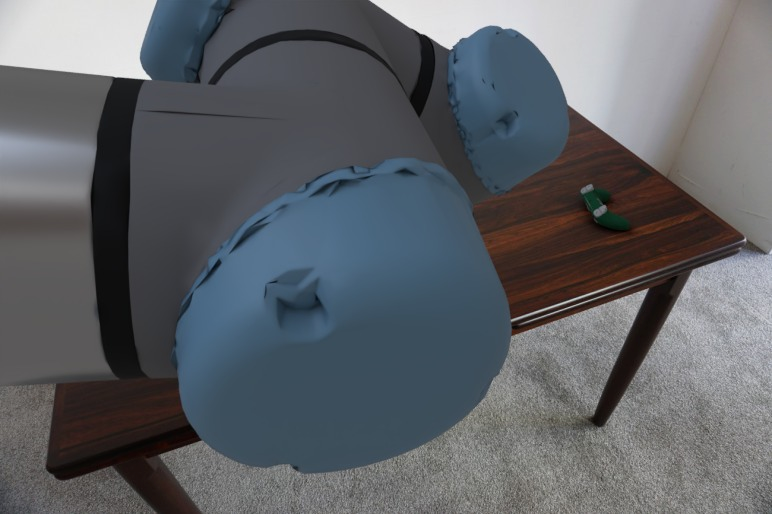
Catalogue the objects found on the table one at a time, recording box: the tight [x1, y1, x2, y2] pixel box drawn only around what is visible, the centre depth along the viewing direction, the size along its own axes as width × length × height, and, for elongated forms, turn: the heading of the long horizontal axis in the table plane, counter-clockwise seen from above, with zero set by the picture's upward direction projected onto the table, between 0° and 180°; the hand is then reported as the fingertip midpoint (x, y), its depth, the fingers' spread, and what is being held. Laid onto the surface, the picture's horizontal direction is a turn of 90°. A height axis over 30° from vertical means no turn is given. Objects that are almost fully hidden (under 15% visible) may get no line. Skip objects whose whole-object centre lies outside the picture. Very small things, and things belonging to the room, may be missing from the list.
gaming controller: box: [579, 183, 631, 231], centre depth 85 cm, size 9×4×6 cm
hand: (239, 280), depth 52 cm, fingers open, 13 cm apart
